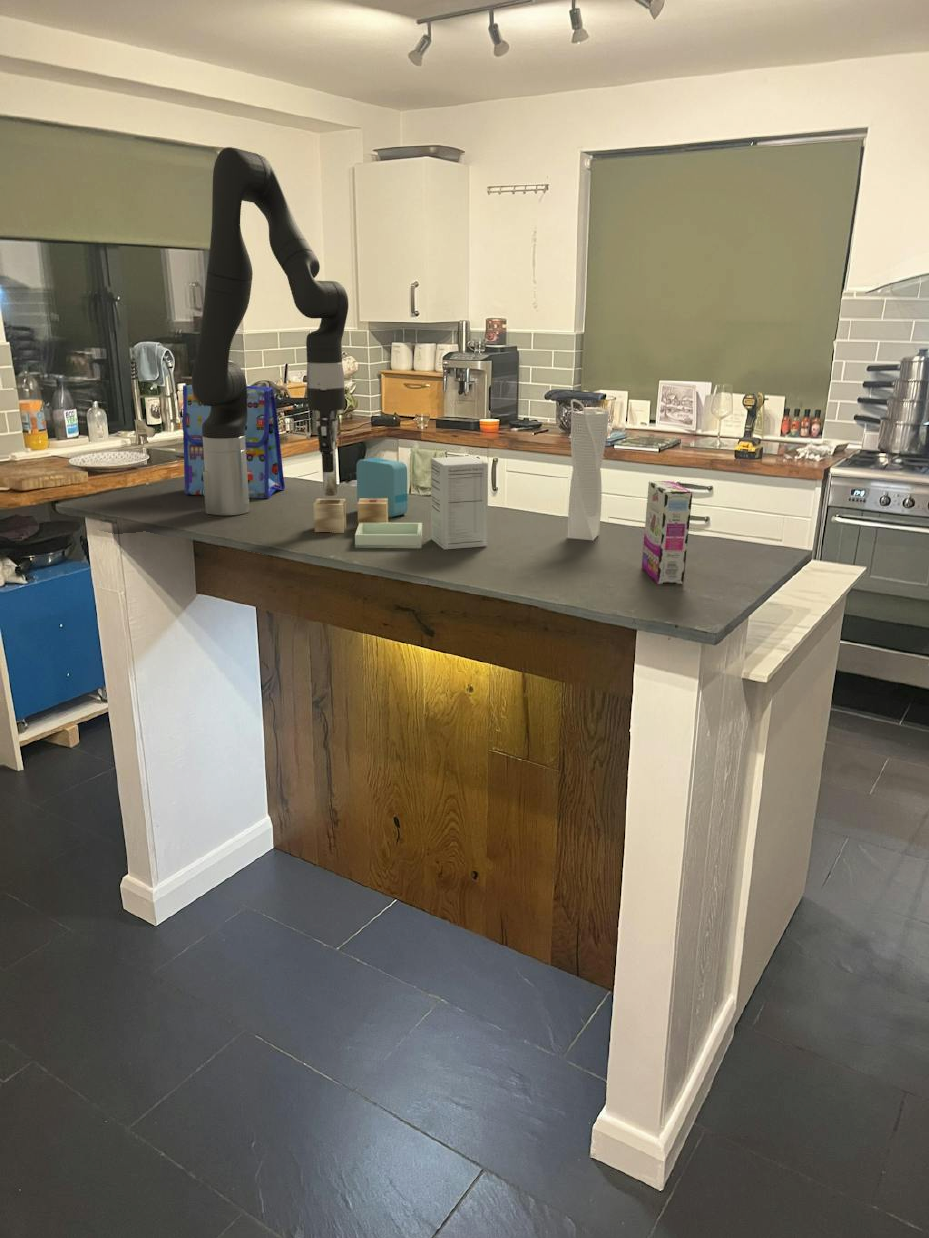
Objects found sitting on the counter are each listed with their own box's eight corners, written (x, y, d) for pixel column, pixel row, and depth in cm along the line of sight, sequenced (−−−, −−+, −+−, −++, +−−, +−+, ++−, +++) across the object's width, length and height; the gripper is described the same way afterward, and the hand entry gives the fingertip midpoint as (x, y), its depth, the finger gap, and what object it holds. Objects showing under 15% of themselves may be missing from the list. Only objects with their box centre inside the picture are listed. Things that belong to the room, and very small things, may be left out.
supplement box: (473, 536, 195) (474, 455, 189) (488, 546, 186) (490, 462, 181) (429, 539, 192) (429, 457, 186) (442, 550, 184) (443, 464, 178)
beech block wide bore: (314, 532, 196) (313, 504, 194) (318, 526, 202) (317, 498, 200) (343, 533, 196) (342, 504, 194) (346, 526, 202) (345, 499, 200)
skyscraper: (559, 538, 194) (565, 400, 185) (568, 530, 200) (574, 397, 191) (597, 542, 191) (605, 402, 182) (604, 534, 198) (613, 399, 189)
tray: (355, 547, 184) (354, 535, 183) (359, 534, 195) (359, 522, 194) (421, 548, 185) (421, 535, 184) (422, 535, 195) (422, 522, 194)
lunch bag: (184, 496, 231) (173, 375, 222) (206, 486, 244) (197, 372, 234) (269, 499, 228) (262, 378, 219) (286, 489, 241) (280, 373, 232)
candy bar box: (685, 585, 162) (694, 492, 157) (657, 585, 162) (665, 492, 157) (667, 568, 173) (674, 480, 168) (640, 568, 173) (647, 480, 167)
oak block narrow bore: (358, 531, 197) (357, 503, 195) (360, 525, 203) (359, 498, 201) (386, 532, 197) (386, 504, 195) (388, 525, 203) (387, 498, 201)
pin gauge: (322, 495, 195) (319, 427, 191) (324, 493, 198) (321, 426, 193) (336, 495, 195) (333, 427, 191) (337, 493, 198) (335, 426, 193)
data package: (408, 515, 213) (407, 462, 209) (394, 518, 210) (393, 465, 206) (370, 507, 220) (369, 456, 217) (356, 510, 217) (355, 459, 213)
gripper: (311, 382, 196) (315, 465, 201) (302, 388, 183) (306, 476, 188) (347, 382, 196) (350, 465, 202) (340, 388, 183) (344, 476, 188)
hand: (329, 470), depth 195 cm, fingers closed on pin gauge, 2 cm apart
